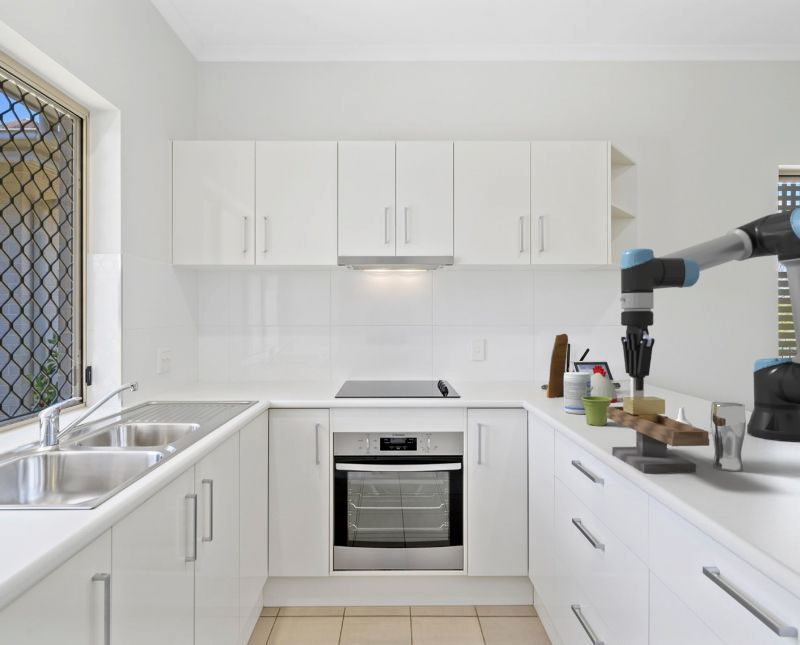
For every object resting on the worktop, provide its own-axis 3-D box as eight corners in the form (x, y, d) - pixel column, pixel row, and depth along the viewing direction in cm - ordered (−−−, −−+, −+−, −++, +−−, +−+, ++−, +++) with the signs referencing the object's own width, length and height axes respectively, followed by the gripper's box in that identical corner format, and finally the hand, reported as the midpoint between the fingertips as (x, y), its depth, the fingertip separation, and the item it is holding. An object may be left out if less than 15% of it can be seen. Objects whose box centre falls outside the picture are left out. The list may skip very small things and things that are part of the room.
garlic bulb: (665, 432, 163) (663, 407, 162) (680, 429, 165) (679, 404, 164) (682, 436, 157) (680, 410, 156) (698, 433, 159) (696, 407, 158)
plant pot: (616, 427, 168) (616, 400, 168) (586, 427, 168) (586, 400, 168) (606, 421, 177) (606, 396, 177) (578, 421, 178) (578, 396, 178)
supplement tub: (593, 415, 190) (593, 374, 189) (567, 414, 190) (566, 374, 190) (587, 410, 199) (586, 371, 199) (561, 410, 200) (561, 371, 200)
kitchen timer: (603, 397, 231) (603, 363, 231) (624, 402, 218) (624, 366, 218) (575, 399, 228) (575, 364, 227) (595, 404, 214) (595, 367, 214)
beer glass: (748, 467, 122) (748, 403, 122) (742, 474, 117) (742, 407, 117) (713, 462, 127) (713, 400, 127) (707, 468, 122) (707, 404, 122)
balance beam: (599, 447, 142) (599, 406, 142) (642, 446, 143) (642, 405, 143) (663, 484, 110) (663, 431, 110) (718, 483, 111) (718, 430, 111)
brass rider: (623, 418, 133) (623, 397, 132) (654, 417, 133) (654, 396, 133) (632, 422, 128) (632, 400, 127) (665, 421, 128) (664, 399, 128)
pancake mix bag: (573, 394, 241) (573, 333, 241) (556, 399, 227) (556, 334, 226) (559, 392, 246) (559, 333, 245) (542, 397, 231) (541, 334, 231)
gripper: (611, 310, 140) (611, 399, 140) (634, 310, 127) (634, 407, 127) (639, 310, 140) (639, 398, 140) (665, 309, 127) (665, 407, 127)
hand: (637, 402), depth 133 cm, fingers closed
